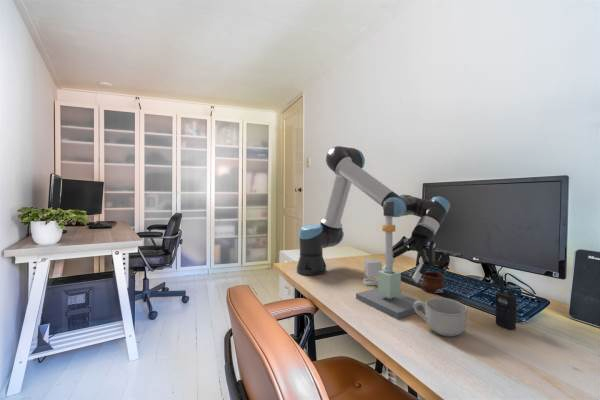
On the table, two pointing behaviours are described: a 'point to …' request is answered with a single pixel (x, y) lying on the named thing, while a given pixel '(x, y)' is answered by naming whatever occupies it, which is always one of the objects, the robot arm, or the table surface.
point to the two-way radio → (505, 307)
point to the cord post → (398, 304)
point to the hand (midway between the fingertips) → (398, 275)
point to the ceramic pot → (432, 282)
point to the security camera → (372, 271)
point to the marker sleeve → (389, 284)
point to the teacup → (443, 315)
